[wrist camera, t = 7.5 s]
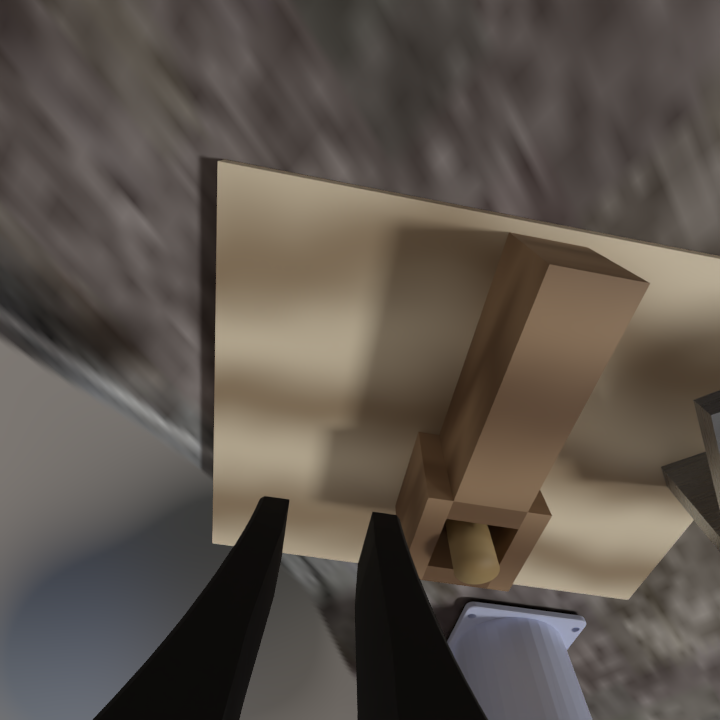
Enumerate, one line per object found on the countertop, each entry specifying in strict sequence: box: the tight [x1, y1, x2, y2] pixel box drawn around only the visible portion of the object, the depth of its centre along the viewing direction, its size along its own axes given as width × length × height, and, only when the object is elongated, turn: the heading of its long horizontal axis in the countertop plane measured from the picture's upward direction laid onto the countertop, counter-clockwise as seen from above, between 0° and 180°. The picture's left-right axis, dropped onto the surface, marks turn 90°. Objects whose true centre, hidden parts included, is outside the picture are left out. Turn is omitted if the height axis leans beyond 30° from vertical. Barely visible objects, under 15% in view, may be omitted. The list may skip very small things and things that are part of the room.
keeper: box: [661, 390, 720, 551], centre depth 17 cm, size 10×2×5 cm, turn 30°
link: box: [395, 232, 650, 591], centre depth 17 cm, size 14×5×4 cm, turn 170°
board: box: [212, 159, 720, 600], centre depth 18 cm, size 20×25×6 cm
